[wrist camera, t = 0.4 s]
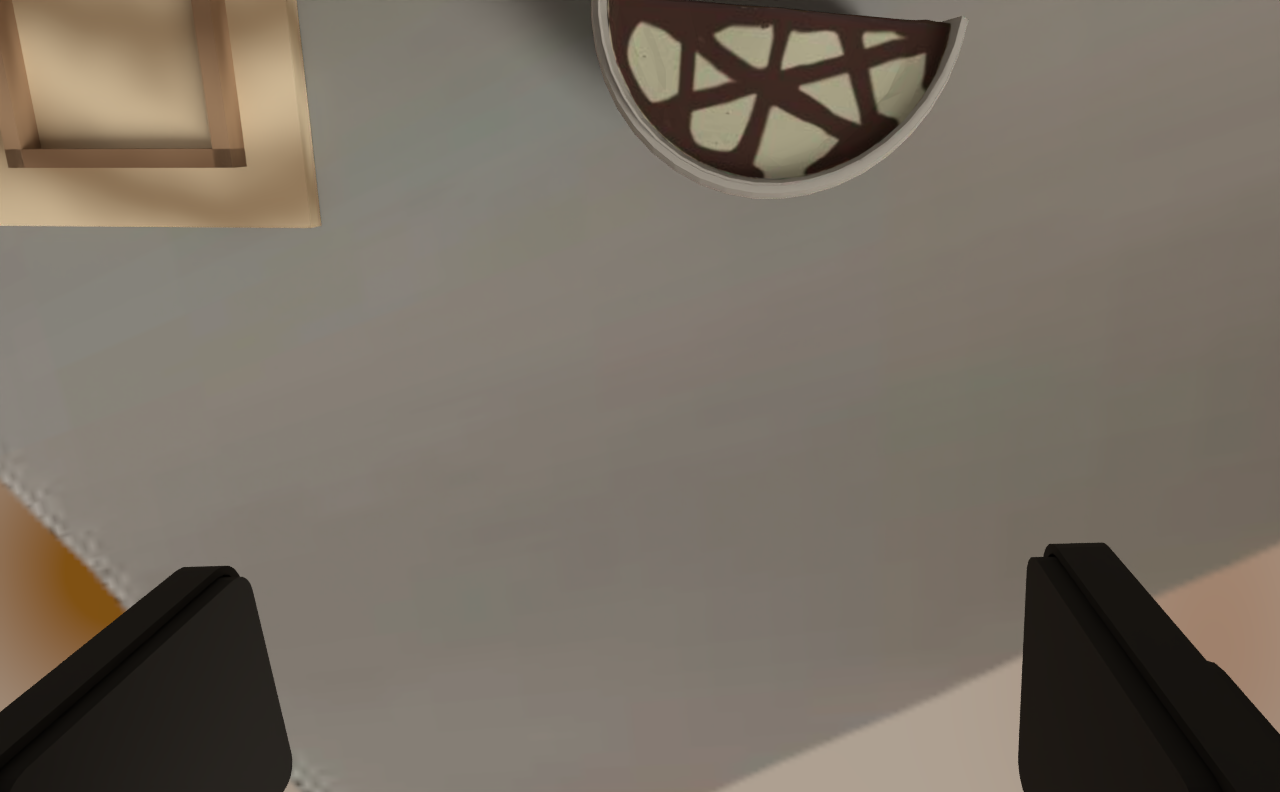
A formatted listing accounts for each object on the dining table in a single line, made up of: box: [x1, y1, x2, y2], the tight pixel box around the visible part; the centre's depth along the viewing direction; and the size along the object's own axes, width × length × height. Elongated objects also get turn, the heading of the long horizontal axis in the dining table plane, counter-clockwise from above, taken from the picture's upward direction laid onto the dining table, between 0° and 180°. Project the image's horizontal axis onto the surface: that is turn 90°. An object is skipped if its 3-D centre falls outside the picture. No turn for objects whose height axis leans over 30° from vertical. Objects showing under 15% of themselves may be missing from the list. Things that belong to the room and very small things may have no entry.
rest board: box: [0, 0, 321, 228], centre depth 38 cm, size 19×16×2 cm
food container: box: [591, 0, 969, 199], centre depth 33 cm, size 12×6×10 cm, turn 85°
